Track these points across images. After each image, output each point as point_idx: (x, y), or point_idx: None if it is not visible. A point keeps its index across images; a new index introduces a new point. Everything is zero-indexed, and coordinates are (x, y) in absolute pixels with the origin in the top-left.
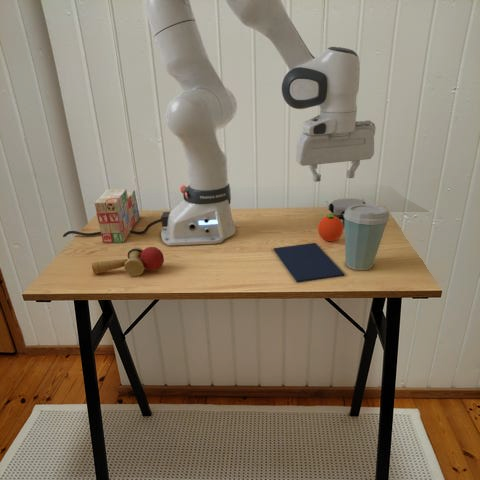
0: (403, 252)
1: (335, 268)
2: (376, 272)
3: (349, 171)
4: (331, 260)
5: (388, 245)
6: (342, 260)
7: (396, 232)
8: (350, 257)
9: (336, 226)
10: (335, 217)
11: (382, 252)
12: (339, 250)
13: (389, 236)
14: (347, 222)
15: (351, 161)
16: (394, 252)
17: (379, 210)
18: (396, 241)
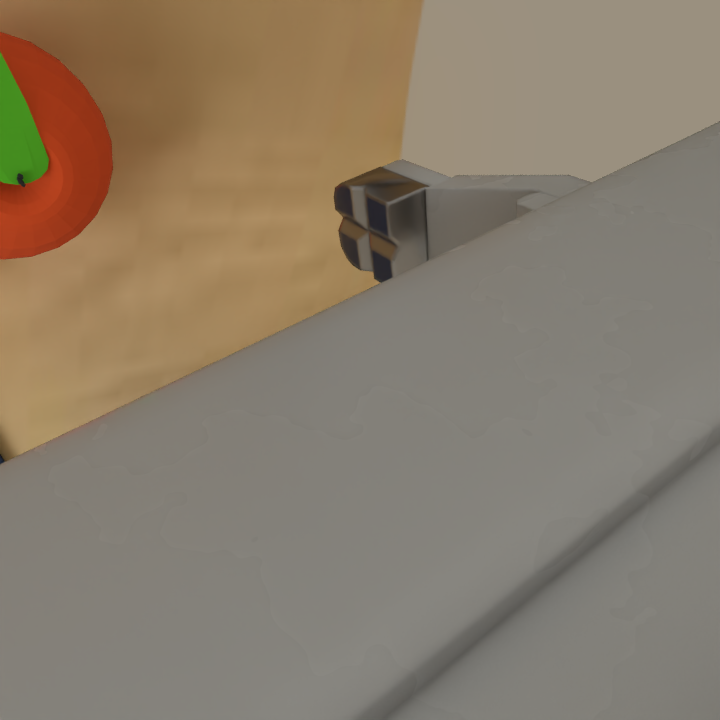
0: (360, 289)
1: None
2: None
3: (398, 271)
4: (2, 461)
5: (327, 213)
6: (67, 424)
7: (418, 23)
8: None
9: (59, 245)
10: (62, 181)
11: (279, 300)
12: (54, 302)
13: (368, 84)
14: None
15: (529, 209)
16: (327, 293)
17: None
18: (376, 160)
